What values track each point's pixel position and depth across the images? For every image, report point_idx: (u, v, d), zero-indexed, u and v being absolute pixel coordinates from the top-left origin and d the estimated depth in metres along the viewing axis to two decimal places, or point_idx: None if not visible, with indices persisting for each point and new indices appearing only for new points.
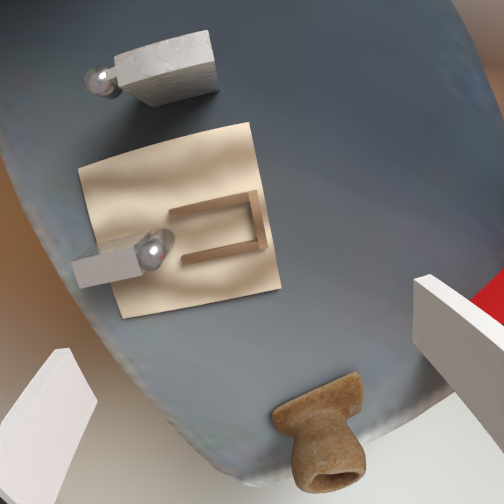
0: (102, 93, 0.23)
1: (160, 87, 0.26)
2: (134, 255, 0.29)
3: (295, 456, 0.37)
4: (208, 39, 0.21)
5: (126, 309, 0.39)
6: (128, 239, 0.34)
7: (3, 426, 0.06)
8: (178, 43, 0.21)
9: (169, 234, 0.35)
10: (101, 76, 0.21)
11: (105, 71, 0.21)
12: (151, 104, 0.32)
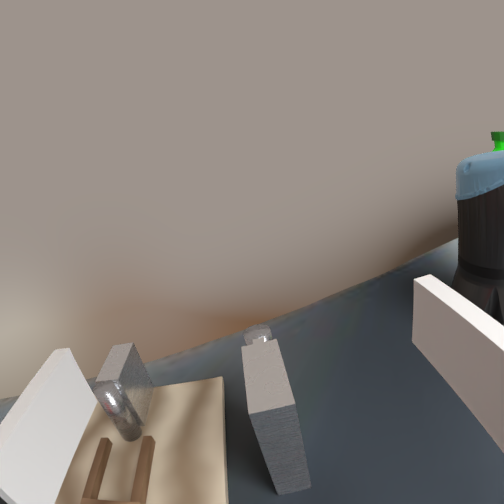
0: (246, 344, 0.28)
1: None
2: (110, 379, 0.30)
3: None
4: (280, 406, 0.19)
5: None
6: (137, 397, 0.33)
7: (3, 426, 0.06)
8: (279, 382, 0.21)
9: (130, 432, 0.29)
10: (258, 334, 0.27)
11: (261, 335, 0.27)
12: None
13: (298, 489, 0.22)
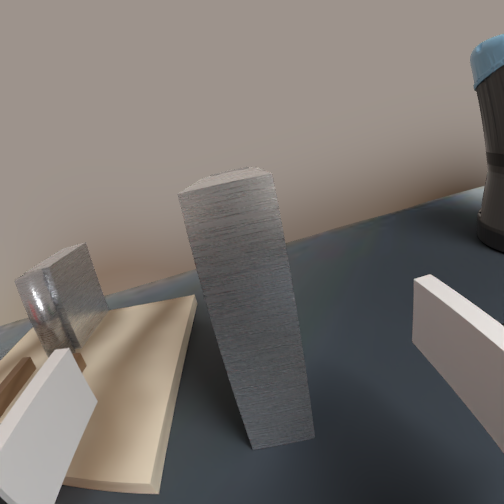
0: None
1: None
2: (41, 268, 0.22)
3: None
4: (242, 179, 0.10)
5: None
6: (77, 307, 0.25)
7: (3, 426, 0.06)
8: (248, 173, 0.12)
9: None
10: None
11: (235, 170, 0.18)
12: None
13: (290, 439, 0.13)
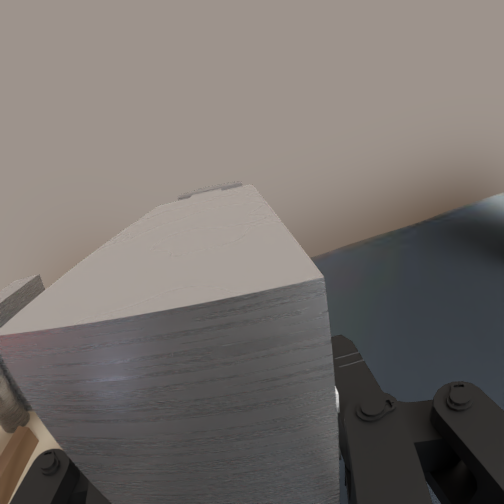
0: None
1: None
2: None
3: None
4: (191, 299, 0.02)
5: None
6: None
7: None
8: (230, 224, 0.05)
9: (4, 416, 0.13)
10: (211, 189, 0.11)
11: (217, 188, 0.11)
12: None
13: None
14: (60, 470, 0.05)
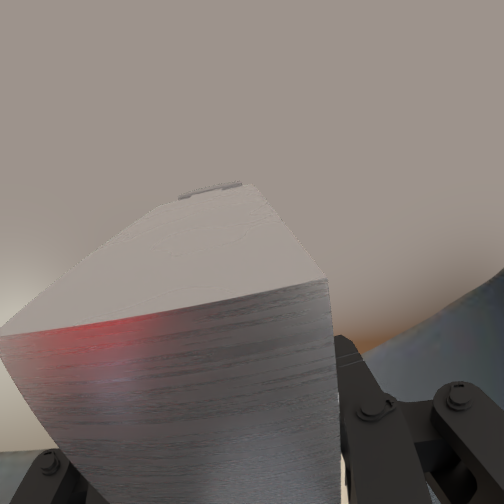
0: None
1: None
2: None
3: None
4: (191, 300, 0.02)
5: None
6: None
7: None
8: (231, 223, 0.05)
9: None
10: (211, 189, 0.11)
11: (218, 188, 0.11)
12: None
13: None
14: (60, 470, 0.05)
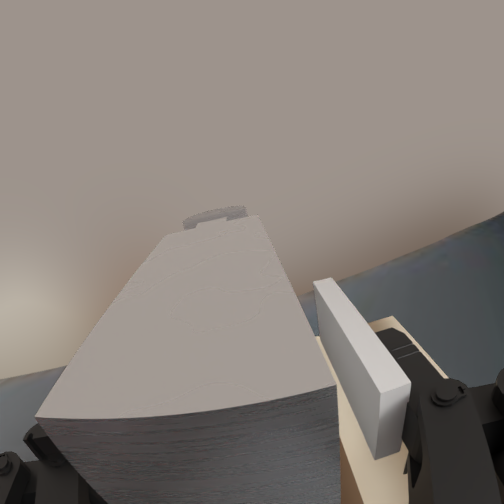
0: None
1: None
2: None
3: None
4: (223, 401, 0.02)
5: None
6: None
7: None
8: (244, 286, 0.05)
9: None
10: (216, 215, 0.11)
11: (222, 216, 0.11)
12: None
13: None
14: (12, 470, 0.05)
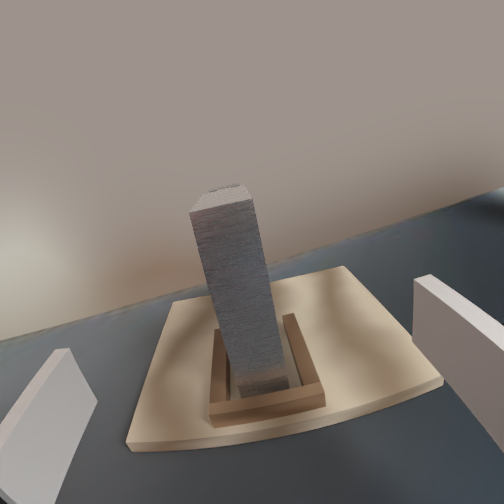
0: None
1: None
2: None
3: None
4: (232, 202, 0.15)
5: (181, 303, 0.35)
6: None
7: (3, 426, 0.06)
8: (237, 195, 0.17)
9: None
10: (225, 187, 0.24)
11: (228, 187, 0.23)
12: None
13: None
14: None
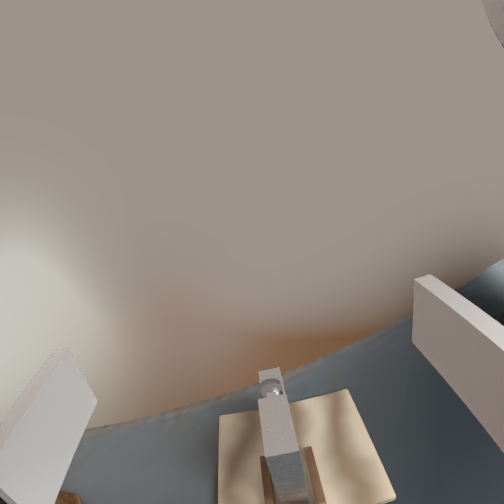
0: (261, 394, 0.33)
1: None
2: None
3: None
4: (288, 452, 0.23)
5: (227, 418, 0.44)
6: None
7: (3, 426, 0.06)
8: (287, 432, 0.26)
9: None
10: (271, 387, 0.32)
11: (274, 390, 0.32)
12: None
13: None
14: None
